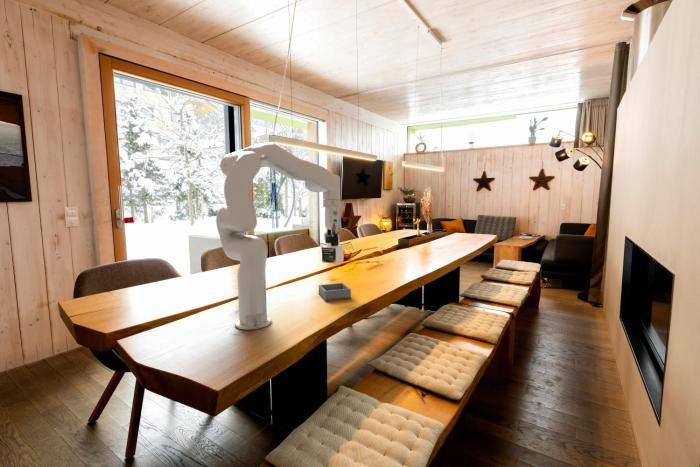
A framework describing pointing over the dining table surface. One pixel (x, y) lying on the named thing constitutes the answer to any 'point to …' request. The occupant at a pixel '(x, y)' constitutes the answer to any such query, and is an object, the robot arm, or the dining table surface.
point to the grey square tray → (334, 292)
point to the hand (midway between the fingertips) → (332, 244)
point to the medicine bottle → (332, 252)
